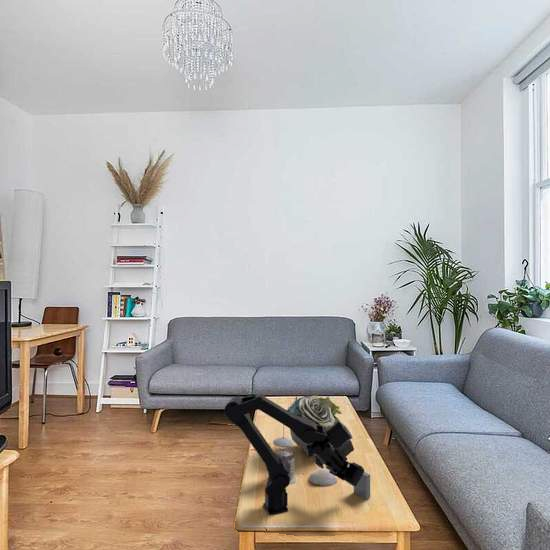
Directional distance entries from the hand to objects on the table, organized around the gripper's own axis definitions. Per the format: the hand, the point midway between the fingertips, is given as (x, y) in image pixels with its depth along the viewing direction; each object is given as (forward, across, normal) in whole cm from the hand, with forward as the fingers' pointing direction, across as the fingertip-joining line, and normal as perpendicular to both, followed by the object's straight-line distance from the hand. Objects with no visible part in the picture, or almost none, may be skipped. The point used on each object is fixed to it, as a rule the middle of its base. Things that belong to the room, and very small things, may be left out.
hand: (351, 479), depth 142 cm
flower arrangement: (+16, +39, -6) cm, 42 cm away
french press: (-3, +24, +13) cm, 27 cm away
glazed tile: (+8, 0, +1) cm, 8 cm away
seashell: (+6, +16, +4) cm, 18 cm away
